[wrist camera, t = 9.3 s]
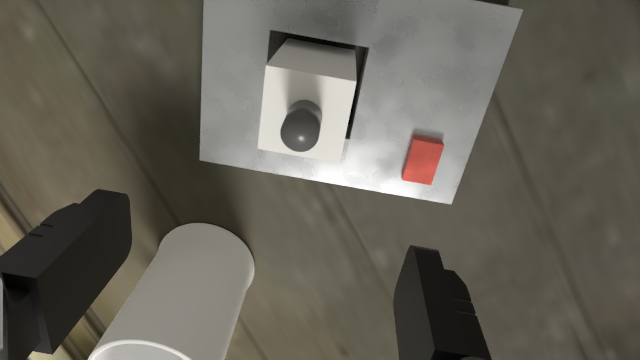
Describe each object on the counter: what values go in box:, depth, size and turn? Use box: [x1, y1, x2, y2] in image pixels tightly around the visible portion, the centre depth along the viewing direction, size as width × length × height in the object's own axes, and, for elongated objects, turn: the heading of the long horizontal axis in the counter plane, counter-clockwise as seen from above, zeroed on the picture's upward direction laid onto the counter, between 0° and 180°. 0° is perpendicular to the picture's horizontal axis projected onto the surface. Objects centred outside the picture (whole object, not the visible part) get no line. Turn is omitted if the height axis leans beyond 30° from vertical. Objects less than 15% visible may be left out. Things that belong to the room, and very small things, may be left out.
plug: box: [258, 38, 357, 163], centre depth 24 cm, size 4×4×10 cm
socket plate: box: [200, 0, 523, 204], centre depth 27 cm, size 18×13×3 cm
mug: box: [88, 223, 255, 360], centre depth 32 cm, size 12×8×12 cm
